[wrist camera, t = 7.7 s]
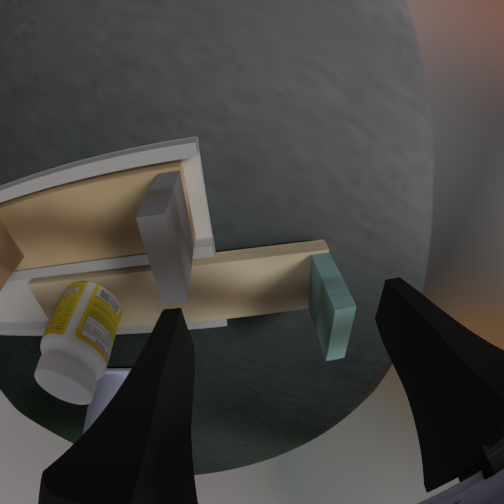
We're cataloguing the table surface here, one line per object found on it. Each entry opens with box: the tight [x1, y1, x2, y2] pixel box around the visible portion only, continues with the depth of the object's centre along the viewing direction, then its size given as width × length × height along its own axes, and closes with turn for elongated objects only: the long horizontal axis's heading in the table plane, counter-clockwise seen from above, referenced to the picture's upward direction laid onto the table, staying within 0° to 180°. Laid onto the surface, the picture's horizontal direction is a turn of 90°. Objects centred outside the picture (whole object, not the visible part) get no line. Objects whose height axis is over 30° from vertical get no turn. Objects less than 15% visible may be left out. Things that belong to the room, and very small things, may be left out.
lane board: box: [0, 136, 227, 336], centre depth 19 cm, size 14×24×2 cm, turn 94°
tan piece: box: [28, 240, 356, 361], centre depth 18 cm, size 5×22×6 cm, turn 94°
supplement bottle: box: [34, 281, 122, 405], centre depth 17 cm, size 5×5×8 cm
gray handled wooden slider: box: [0, 160, 196, 305], centre depth 15 cm, size 5×22×6 cm, turn 94°
